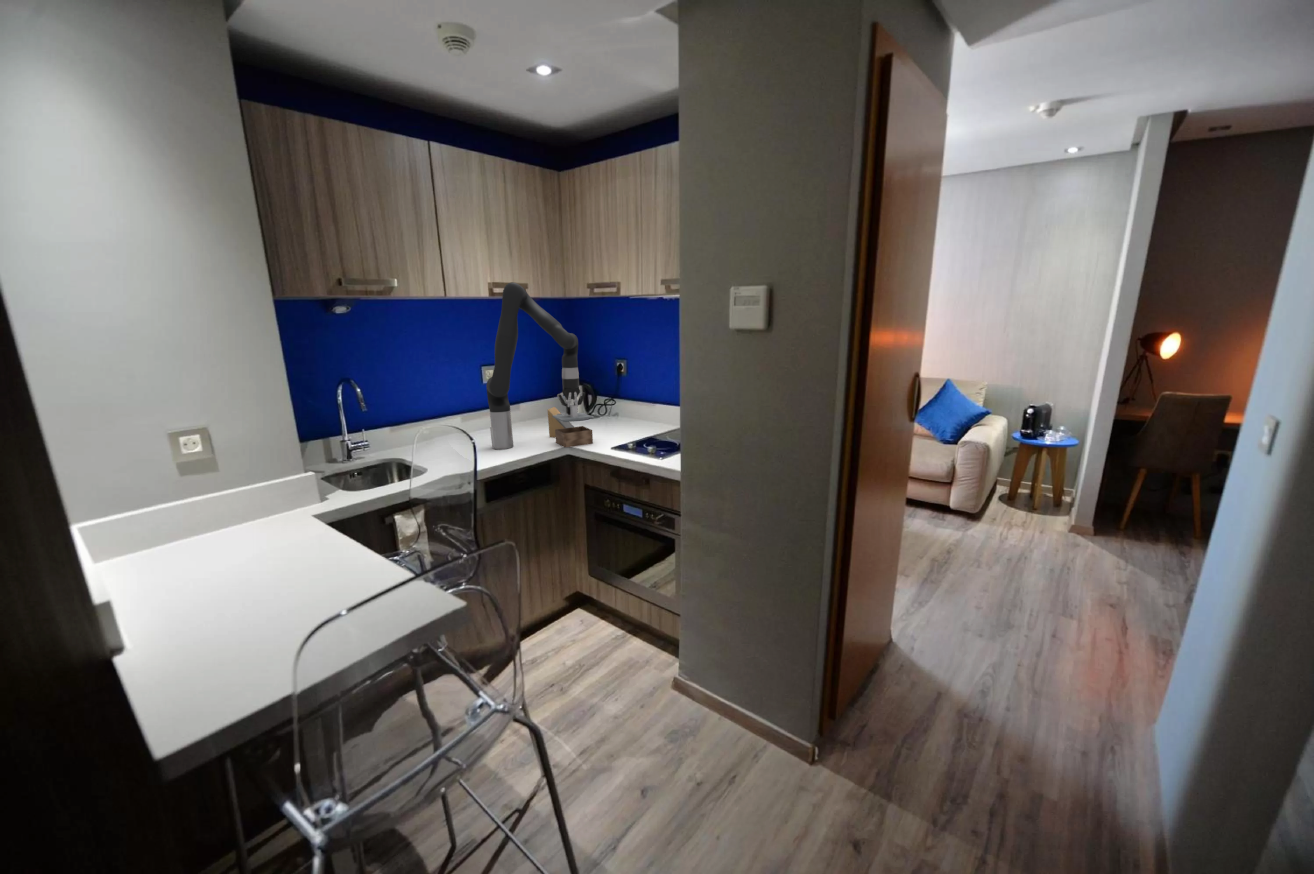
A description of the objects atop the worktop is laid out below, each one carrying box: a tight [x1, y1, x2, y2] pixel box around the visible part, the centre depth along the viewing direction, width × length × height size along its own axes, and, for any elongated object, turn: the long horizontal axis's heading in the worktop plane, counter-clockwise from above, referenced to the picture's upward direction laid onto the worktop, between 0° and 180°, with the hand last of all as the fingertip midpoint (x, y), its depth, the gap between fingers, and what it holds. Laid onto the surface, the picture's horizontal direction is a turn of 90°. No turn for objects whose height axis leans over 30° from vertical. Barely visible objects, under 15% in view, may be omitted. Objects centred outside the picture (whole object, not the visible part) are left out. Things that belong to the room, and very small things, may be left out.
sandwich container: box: [547, 406, 575, 439], centre depth 263 cm, size 9×15×15 cm, turn 77°
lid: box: [553, 403, 594, 423], centre depth 245 cm, size 15×13×7 cm
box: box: [555, 425, 594, 448], centre depth 248 cm, size 14×12×7 cm
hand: (572, 414), depth 245 cm, fingers closed on lid, 2 cm apart
